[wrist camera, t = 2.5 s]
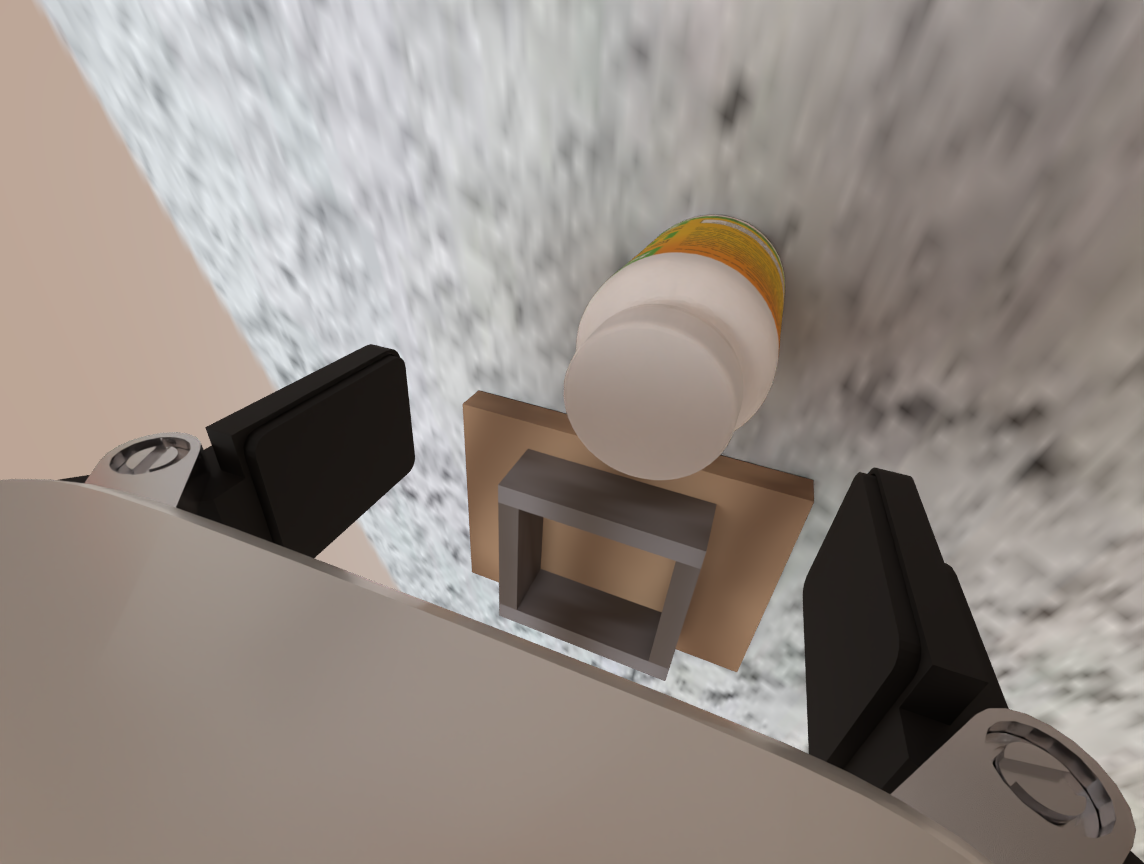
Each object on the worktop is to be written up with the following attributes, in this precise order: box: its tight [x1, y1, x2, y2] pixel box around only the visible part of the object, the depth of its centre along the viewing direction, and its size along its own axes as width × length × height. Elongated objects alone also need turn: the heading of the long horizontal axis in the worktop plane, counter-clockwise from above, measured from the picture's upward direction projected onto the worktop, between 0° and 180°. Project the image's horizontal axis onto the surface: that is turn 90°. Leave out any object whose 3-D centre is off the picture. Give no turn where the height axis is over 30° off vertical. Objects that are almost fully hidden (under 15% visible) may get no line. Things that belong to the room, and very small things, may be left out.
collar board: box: [463, 391, 814, 681], centre depth 25 cm, size 16×12×4 cm
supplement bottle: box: [564, 215, 785, 480], centre depth 15 cm, size 5×5×10 cm
